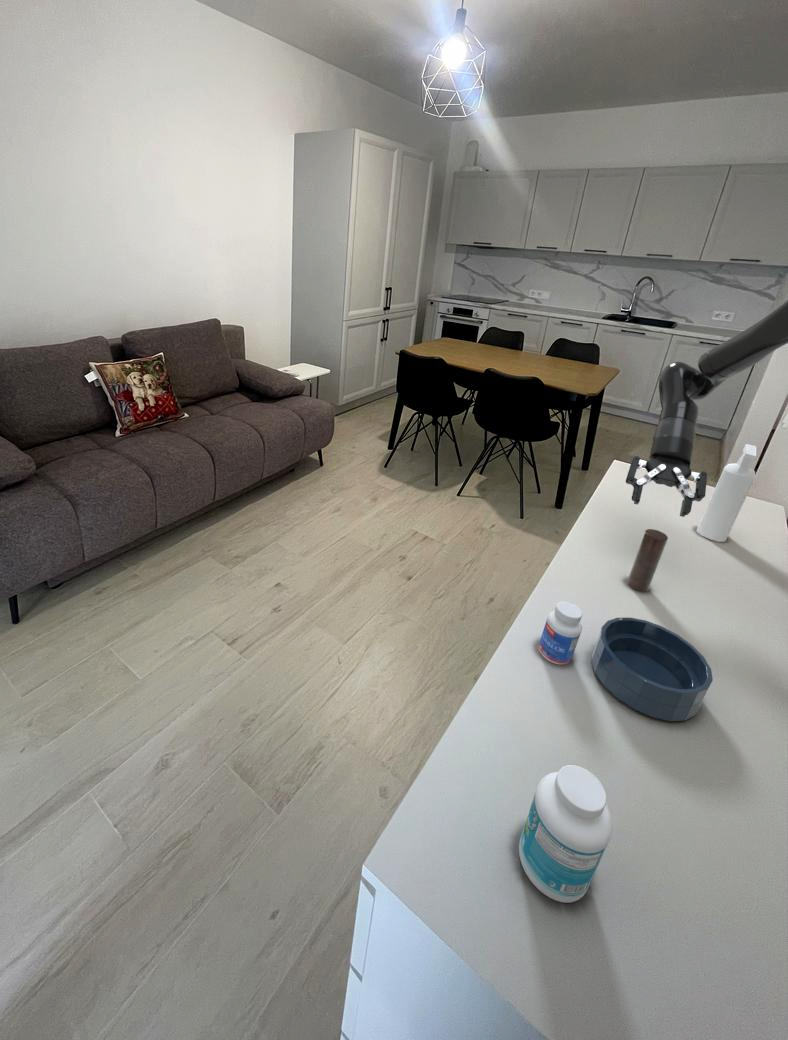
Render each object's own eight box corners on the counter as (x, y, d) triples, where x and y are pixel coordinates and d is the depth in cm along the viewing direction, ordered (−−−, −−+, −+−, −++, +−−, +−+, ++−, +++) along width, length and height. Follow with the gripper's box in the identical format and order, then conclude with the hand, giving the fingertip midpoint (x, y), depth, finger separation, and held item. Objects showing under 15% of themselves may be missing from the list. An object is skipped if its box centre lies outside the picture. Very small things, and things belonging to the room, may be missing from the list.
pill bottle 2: (540, 815, 61) (567, 738, 56) (599, 874, 55) (635, 795, 50) (503, 856, 56) (529, 777, 51) (564, 924, 51) (600, 843, 46)
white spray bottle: (728, 530, 131) (766, 442, 121) (727, 549, 122) (767, 456, 112) (698, 520, 134) (733, 435, 125) (694, 538, 126) (731, 447, 116)
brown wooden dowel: (650, 587, 105) (670, 535, 100) (644, 595, 102) (664, 542, 97) (630, 578, 108) (649, 526, 103) (623, 585, 105) (642, 532, 100)
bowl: (709, 689, 81) (724, 659, 78) (679, 744, 71) (695, 712, 69) (612, 633, 91) (622, 605, 89) (574, 674, 81) (584, 644, 79)
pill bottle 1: (532, 650, 86) (545, 605, 82) (547, 637, 89) (560, 593, 85) (562, 671, 82) (577, 625, 78) (577, 656, 85) (592, 611, 82)
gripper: (640, 427, 109) (625, 493, 104) (717, 443, 103) (705, 514, 98) (633, 442, 116) (618, 505, 111) (705, 458, 110) (693, 525, 105)
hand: (659, 509), depth 104 cm, fingers open, 8 cm apart
